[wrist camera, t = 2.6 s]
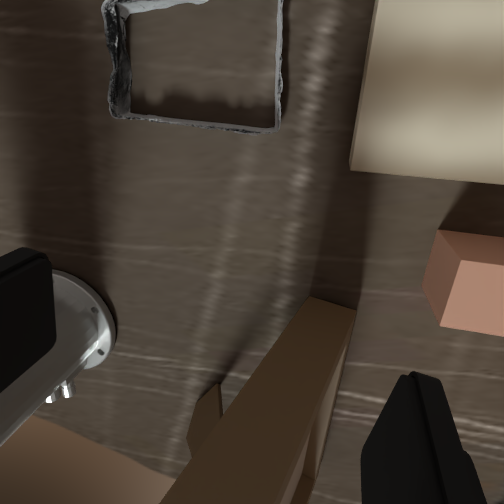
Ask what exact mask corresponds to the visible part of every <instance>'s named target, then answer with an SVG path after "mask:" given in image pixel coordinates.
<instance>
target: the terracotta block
mask: <svg viewBox="0 0 504 504" xmlns="http://www.w3.org/2000/svg"><path fill="white" fill-rule="evenodd" d="M421 286H422V288H423V290H424V292H425V295H426V297H427V299H428V301H429V303H430V306H431V308H432V310H433V312H434V315H435V317H436V319H437V321H438V323H439V326H443V327H449V328H455V329H461V330H467V331H473V332H479V333H485V334H491V335H497V336H503V337H504V237H496V236H488V235H480V234H471V233H463V232H455V231H447V230H438V229H437V233H436V236H435V240H434V243H433V247H432V250H431V254H430V257H429V261H428V264H427V268H426V271H425V275H424V278H423V282H422V285H421Z"/></svg>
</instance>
